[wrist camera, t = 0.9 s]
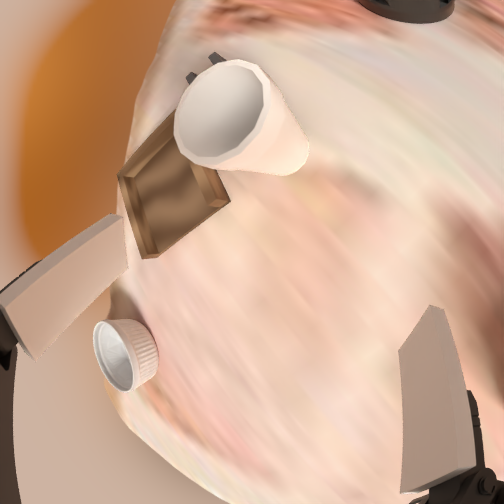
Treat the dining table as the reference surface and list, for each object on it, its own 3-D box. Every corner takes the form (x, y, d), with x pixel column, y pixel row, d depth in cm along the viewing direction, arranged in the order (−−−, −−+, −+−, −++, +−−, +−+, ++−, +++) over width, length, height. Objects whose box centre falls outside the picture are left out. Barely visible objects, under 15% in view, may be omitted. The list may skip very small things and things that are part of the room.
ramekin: (115, 311, 50) (86, 318, 44) (156, 314, 43) (122, 323, 37) (129, 373, 50) (103, 383, 44) (171, 386, 43) (142, 401, 37)
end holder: (130, 176, 45) (116, 174, 42) (189, 114, 38) (176, 108, 35) (156, 257, 42) (142, 259, 39) (230, 201, 35) (216, 198, 32)
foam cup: (279, 205, 32) (207, 190, 20) (235, 153, 34) (159, 124, 23) (339, 147, 28) (297, 94, 16) (286, 100, 30) (226, 44, 19)
